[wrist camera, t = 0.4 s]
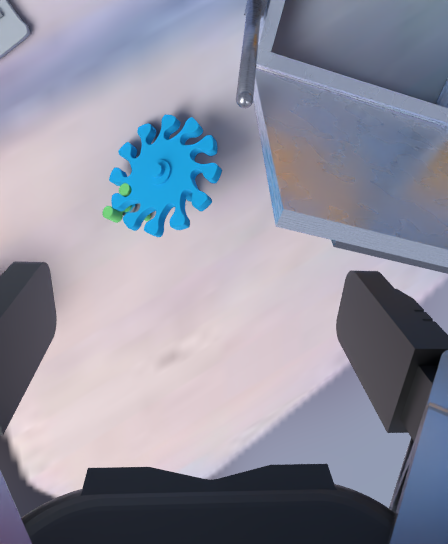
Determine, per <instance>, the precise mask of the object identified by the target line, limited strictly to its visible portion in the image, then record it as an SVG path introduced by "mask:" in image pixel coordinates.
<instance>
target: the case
mask: <svg viewBox="0 0 448 544" xmlns="http://www.w3.org/2000/svg"><path fill="white" fill-rule="evenodd" d="M261 2H262V9H261V20H260V31H259V42H258V53H257V64H256V66H257V67H261V68H264V69H267V70H270V71H274V72H277V73H280V74H283V75H287V76H290V77H293V78H296V79H300V80H303V81H306V82H309V83H312V84H316V85H319V86H322V87H325V88H329V89H332V90H335V91H338V92H342V93H345V94H348V95H351V96H355V97H358V98H361V99H364V100H367V101H371V102H374V103H377V104H380V105H384V106H387V107H390V108H393V109H397V110H400V111H403V112H406V113H410V114H413V115H416V116H419V117H422V118H426V119H429V120H432V121H435V122H439V123H444V124H448V78H447V80H446V83H445V85H444V87H443V89H442V92H441V94H440V96H439V98H438V100H437V103H436V104H433V103H430V102H426V101H423V100H420V99H417V98H414V97H411V96H408V95H404V94H401V93H398V92H395V91H392V90H389V89H385V88H382V87H379V86H376V85H373V84H370V83H367V82H363V81H360V80H357V79H354V78H351V77H348V76H345V75H341V74H338V73H335V72H332V71H329V70H326V69H323V68H319V67H316V66H313V65H310V64H307V63H304V62H300V61H297V60H294V59H291V58H288V57H285V56H282V55H278V54H275V53H272V52H271V50H272V46H273V43H274V39H275V36H276V32H277V28H278V25H279V21H280V18H281V14H282V11H283V7H284V3H285V0H261ZM247 6H248V1H247V5H246V10H245V14H244V15H246V14H247Z"/></svg>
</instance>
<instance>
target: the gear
mask: <svg viewBox="0 0 448 544" xmlns="http://www.w3.org/2000/svg"><path fill="white" fill-rule="evenodd" d="M180 124H181V122H180V121H179V120H178V119H177V118H176V117H174V116H172V115H164V116H163V118H162V126H161V131H160V134H159V136H158V137H157V139H156V141H155V142H154V143H153V144H151V143H152V141H153V139H154V138H155V136H156V129H155V128H154V127H153V126H152V125H151V124H144V125H142V126H140V127H138V135H139V136H140V138H141V142H142V147H141V153H140V155H139V156H138V157H137V158H136V156H137V149H136V147H134V146H133V145H132V144H130V143H129V142H127V143H125V144H124V145H123V146H122V147H121V148H120V150H119V155H120V156H122V157H123V158H125V159H126V160H128V161H129V163H130V165H131V168H132V172H131V174H130V176H128V177H127V174H126V173H125V172H124V171H122V170H121V169H119V168H114V169H113V170H112V172H111V175H110V178H109V181H110V182H112V183H114V184H115V185H117V186H120V188H119V193H120V194H119V193H115V194H113V195H112V207H111V206H107V207H105V208H104V210H103V216H104V217H105V218H107V219H109V220H111V221H113V222H116V223H118V222H120V221H121V219H122V217H123V215H124V217H123V221H124V223H125V224H126V226H127V227H128V228H129V229H132V230H134V231H136V230H138V229H139V228H140V226H141V224H142V222H143V220H145V221H148V220H150V218H151V215H150V214H151V213H152V212H154V211H156V215H155V217H154V218H153V219H151V220H150V221H148V222H147V223H146V224H145V227H144V231H146V232H147V233H149V234H151V235H153V236H156V237H161V236H162V235H163V233H164V222H165V219H166V216H167V215H168V213H169V211H170V210H171V209H172V208H173V207H175V212H174V214H173V215H172V217H171V219H170V226H171V227H172V228H174V229H176V230H182V229H186V228H188V227H189V226H190V220H189V218H188V217H187V215H186V212H185V201H186V199H187V200H188V201H192V205H193V206H194V207H195V208H196V209H198V210H199V211H203V210H205V209H206V208H207V207H208V206H209V205H210V204H211V203H212V199H211V198H210V197H209V196H208V195H207V194H205V193H204V192H201V191H200V190H199V189H198V187H197V185H196V182H195V178H196V176H197V175H198V174H199V173H203V176H204V177H205V178H206V179H207V180H208V181H209V182H211V183H217V182H218V180H219V178H220V176H221V172H222V169H221V168H220V167H219V166H218V165H217V164H215V163H209V164H199V163H197V162H195V157H196V155H197V154H198V153H201V152H202V153H205V154H207V155H208V156H213V155H215V154H217V149H218V147H217V142H216V140H215V139H214V138H213V136H212V135H207V136H205V137H204V138H203V139H201V140H200V141H199V142H197V143H195V144H192V145H185V142H186V141H187V140H188V139H189V138H196V137H199V136H200V135H201V134H202V133H203V129H202V127H201V126H200V125H199V124H198V123H197V121H196V120H195V119H194V118H192V117H191V118H189V119H188V120H187V121H186V123H185V125H184V127H183V129H182V130H181V131H180V132H179V133H178V134H177V135H176V136H174V137H173V138H171V139H169V137H170V135H171V134H173V133H174V132H176V131H177V130H178V129H179V127H180Z"/></svg>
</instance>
